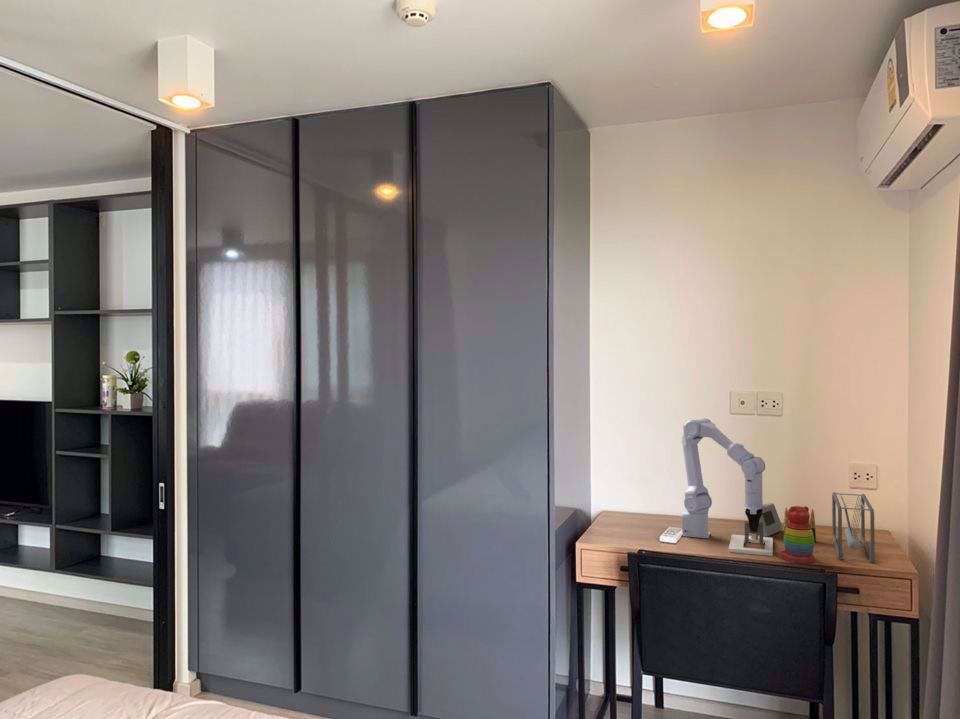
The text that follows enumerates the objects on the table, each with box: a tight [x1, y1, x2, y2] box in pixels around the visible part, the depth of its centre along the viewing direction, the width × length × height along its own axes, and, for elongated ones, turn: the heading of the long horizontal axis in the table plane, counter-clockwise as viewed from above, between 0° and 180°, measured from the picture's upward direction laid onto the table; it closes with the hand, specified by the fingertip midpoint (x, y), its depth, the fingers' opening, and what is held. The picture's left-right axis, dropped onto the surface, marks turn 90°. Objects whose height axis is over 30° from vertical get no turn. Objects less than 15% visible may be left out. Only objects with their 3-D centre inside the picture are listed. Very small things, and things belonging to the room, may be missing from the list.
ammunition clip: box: [782, 507, 817, 543], centre depth 253 cm, size 11×2×12 cm, turn 74°
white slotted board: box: [728, 533, 774, 557], centre depth 247 cm, size 14×20×6 cm
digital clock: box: [758, 502, 784, 538], centre depth 264 cm, size 16×9×11 cm, turn 122°
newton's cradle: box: [831, 491, 876, 564], centre depth 240 cm, size 30×10×18 cm, turn 156°
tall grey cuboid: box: [744, 520, 764, 545], centre depth 244 cm, size 6×2×7 cm, turn 67°
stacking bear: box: [777, 505, 816, 564], centre depth 231 cm, size 11×10×18 cm
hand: (754, 530), depth 244 cm, fingers closed on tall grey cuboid, 2 cm apart
